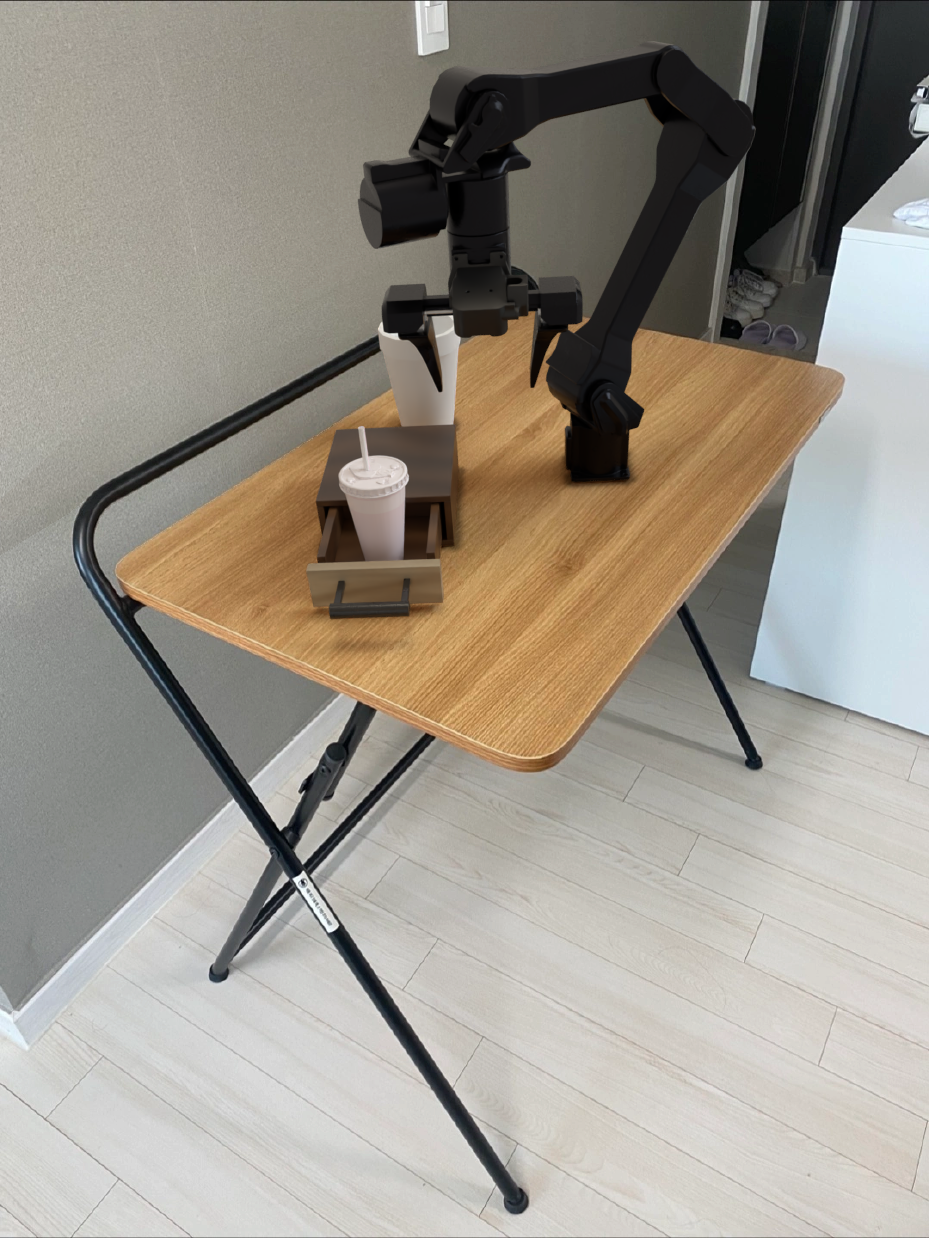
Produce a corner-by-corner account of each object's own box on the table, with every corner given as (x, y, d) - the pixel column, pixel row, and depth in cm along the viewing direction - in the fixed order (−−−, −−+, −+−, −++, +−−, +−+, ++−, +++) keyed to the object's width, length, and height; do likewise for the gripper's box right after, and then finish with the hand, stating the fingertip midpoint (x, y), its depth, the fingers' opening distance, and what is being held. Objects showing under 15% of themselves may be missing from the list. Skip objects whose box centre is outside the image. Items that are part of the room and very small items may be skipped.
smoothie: (368, 537, 97) (350, 408, 88) (427, 546, 95) (414, 416, 86) (340, 572, 92) (318, 440, 83) (401, 583, 90) (385, 449, 81)
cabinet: (454, 545, 98) (450, 495, 94) (324, 550, 99) (315, 501, 95) (459, 470, 110) (455, 424, 106) (343, 475, 111) (335, 429, 107)
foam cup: (438, 451, 114) (429, 346, 106) (375, 435, 118) (362, 333, 110) (479, 418, 120) (474, 316, 112) (418, 404, 124) (409, 305, 116)
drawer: (441, 636, 85) (437, 598, 82) (304, 640, 86) (296, 603, 83) (449, 519, 100) (446, 484, 98) (333, 524, 101) (327, 489, 98)
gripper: (366, 261, 81) (386, 429, 91) (588, 249, 80) (585, 421, 90) (379, 223, 90) (396, 380, 99) (579, 212, 89) (577, 371, 98)
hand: (486, 388), depth 96 cm, fingers open, 9 cm apart
